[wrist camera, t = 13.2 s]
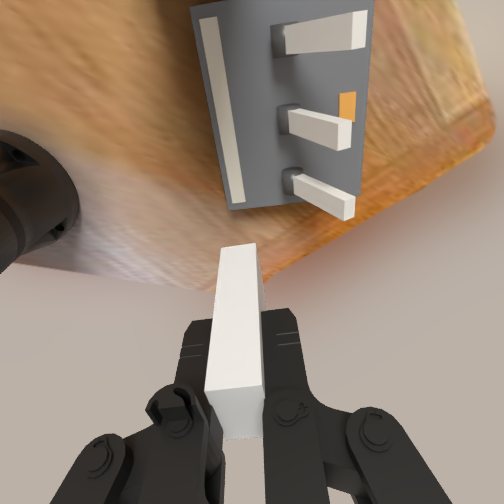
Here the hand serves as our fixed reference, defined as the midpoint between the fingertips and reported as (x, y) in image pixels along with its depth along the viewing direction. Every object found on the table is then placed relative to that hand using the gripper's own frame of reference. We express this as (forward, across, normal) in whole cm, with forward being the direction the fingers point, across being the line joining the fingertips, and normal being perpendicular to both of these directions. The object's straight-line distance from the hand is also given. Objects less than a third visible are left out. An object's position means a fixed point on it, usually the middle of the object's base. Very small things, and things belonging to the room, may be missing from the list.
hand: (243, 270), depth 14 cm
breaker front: (+23, +4, +8) cm, 24 cm away
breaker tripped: (+23, +4, +1) cm, 23 cm away
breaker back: (+23, +4, -5) cm, 24 cm away
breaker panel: (+26, +5, +1) cm, 27 cm away
